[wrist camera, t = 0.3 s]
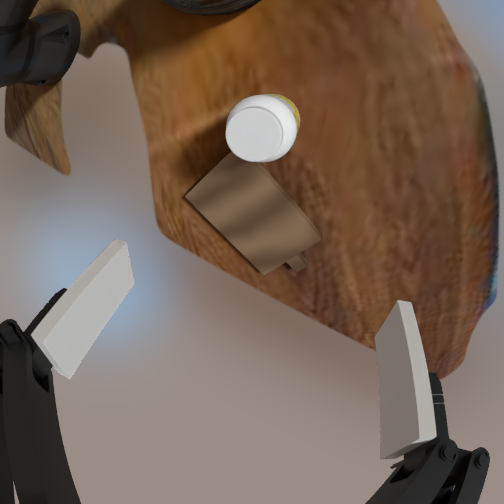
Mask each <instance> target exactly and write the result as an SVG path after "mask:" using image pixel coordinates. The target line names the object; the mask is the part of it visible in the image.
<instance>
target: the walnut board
mask: <svg viewBox="0 0 504 504" xmlns="http://www.w3.org/2000/svg"><path fill="white" fill-rule="evenodd" d="M185 197H186V198H187V199H188V200H189V201H190V202H191V203H192V204H193V205H194V206H195V207H196V208H197V209H198V210H199V211H200V212H201V213H202V214H203V215H204V216H205V217H206V218H207V219H208V220H209V221H210V222H211V223H212V224H213V225H214V226H215V227H216V228H217V229H218V230H219V231H220V232H221V233H222V234H223V235H224V236H225V237H226V238H227V239H228V240H229V241H230V242H231V243H232V244H233V245H234V246H235V247H236V248H237V249H238V250H239V251H240V252H241V253H242V254H243V255H244V256H245V257H246V258H247V259H248V260H249V261H250V262H251V263H252V264H253V265H254V266H255V267H256V268H257V269H258V270H259V271H260V272H261V273H262V274H263V275H266V274H267V273H269V272H271V271H272V270H274V269H275V268H277V267H279V266H280V265H282V264H284V263H285V262H287V263H288V264H289V265H290V266H291V267H292V268H293V270H294V271H295V272H298V271H300V270H301V269H303V268H305V267H307V260H306V259H305V257H304V256H303V255H302V254H301V252H303V251H305V250H306V249H308V248H310V247H311V246H313V245H314V244H316V243H318V242H319V241H321V240H322V234H321V233H320V232H319V230H318V229H317V228H316V227H315V226H314V224H313V223H312V222H311V221H310V220H309V218H308V217H307V216H306V215H305V214H304V213H303V211H302V210H301V209H300V208H299V207H298V206H297V204H296V203H295V202H294V201H293V200H292V199H291V198H290V196H289V195H288V194H287V193H286V192H285V191H284V190H283V189H282V187H281V186H280V185H279V184H278V183H277V182H276V181H275V180H274V179H273V178H272V176H271V175H270V174H269V173H268V172H267V171H266V170H265V169H264V168H263V167H262V166H261V164H260V163H259V162H251V161H246V160H244V159H241V158H240V157H238V156H236V155H235V154H234V153H233V152H232V151H231V152H230V153H229V154H228V155H227V156H225V157H224V158H223V159H222V160H221V161H220V162H219V163H218V164H217V165H216V166H215V167H214V168H213V169H212V170H211V171H210V172H209V173H208V174H207V175H206V176H205V177H204V178H203V179H202V180H201V181H200V182H199V183H198V184H197V185H196V186H195V187H194V188H193V189H192V190H191V191H190V192H189V193H188V194H187V195H186V196H185Z"/></svg>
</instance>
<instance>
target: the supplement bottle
mask: <svg viewBox="0 0 504 504" xmlns="http://www.w3.org/2000/svg"><path fill="white" fill-rule="evenodd" d="M299 126H300V115H299V112H298V109H297V107H296V106H295V105H294V103H293V102H292V101H291V100H289V99H288V98H286V97H284V96H282V95H278V94H264V95H255V96H251V97H248V98H245V99H243V100H242V101H240V102H239V103H237V104H236V105H235V106H234V108H233V109H232V110H231V112H230V114H229V116H228V118H227V123H226V141H227V144H228V146H229V148H230V149H231V151H232V152H233V153H234V154H235V155H236V156H238V157H240V158H241V159H244V160H246V161H251V162H270V161H273V160H276V159H278V158H280V157H282V156H283V155H284V154H285V153H287V152H288V151H289V149H290V148H291V147H292V145H293V143H294V141H295V138H296V135H297V133H298V130H299Z"/></svg>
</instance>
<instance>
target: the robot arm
mask: <svg viewBox="0 0 504 504" xmlns="http://www.w3.org/2000/svg"><path fill="white" fill-rule="evenodd" d="M38 1H39V0H0V88H1V87H4V86H7V85H10V84H14V83H24V84H30V85H36V86H44V85H48V84H52V83H55V82H57V81H58V80H59V79H61V78H62V77H63V76H64V74H65V73H66V72H67V71H68V69H69V68H70V66H71V64H72V62H73V60H74V58H75V55H76V53H77V50H78V46H79V41H80V22H79V19H78V17H77V15H76V14H75V13H74V12H73V11H71V10H61V9H58V10H53V11H50V12H47V13H44V14H41V15H39V16H36V17H33V18H31V19H29V17H30V15H31V13H32V11H33V9H34V8H35V6H36V4H37V2H38ZM134 284H135V282H134V277H133V273H132V268H131V263H130V258H129V252H128V247H127V243H126V242H123V241H119V240H114V241H113V242H112V243H111V244H110V245H109V246H108V247H107V248H106V249H105V250H104V251H103V252H102V253H101V254H100V255H99V256H98V257H97V258H96V259H95V260H94V261H93V262H92V263H91V264H90V265H89V266H88V267H87V268H86V270H85V271H84V272H83V273H82V274H81V275H80V276H79V277H78V278H77V279H76V281H75V282H74V283H73V284H72V285H71V286H70V287H69V289H65V288H63V289H62V290H60V291H59V292H57V293H56V294H55V295H54V296H53V297H52V298H51V299H50V301H49V303H47V304H46V305H45V307H44V308H43V309H42V310H41V311H40V312H39V314H38V315H37V316H36V317H35V319H34V320H33V321H32V322H31V324H30V325H29V326H28V327H27V329H26V330H25V331H24V332H22V330H21V329H20V327H19V325H18V324H17V322H16V321H15V320H13V319H7V320H5V321H4V322H2V323H1V324H0V504H15V499H14V488H13V481H14V485H15V488H16V492H17V496H18V500H19V504H81V502H80V499H79V497H78V494H77V491H76V488H75V485H74V482H73V479H72V475H71V472H70V469H69V465H68V462H67V458H66V454H65V450H64V446H63V441H62V437H61V432H60V427H59V421H58V416H57V409H56V402H55V394H54V387H53V386H54V385H53V375H52V371H51V368H52V366H54V368H55V369H56V370H57V371H58V372H59V373H60V374H62V375H63V376H65V377H67V378H68V379H71V377H72V376H73V374H74V373H75V371H76V369H77V368H78V366H79V365H80V363H81V361H82V360H83V358H84V357H85V355H86V353H87V352H88V350H89V349H90V347H91V346H92V344H93V342H94V341H95V340H96V338H97V337H98V335H99V334H100V332H101V331H102V329H103V328H104V326H105V325H106V323H107V322H108V320H109V319H110V318H111V316H112V315H113V313H114V312H115V310H116V309H117V308H118V306H119V305H120V303H121V302H122V301H123V299H124V298H125V297H126V295H127V294H128V292H129V291H130V290H131V288H132V287H133V286H134ZM375 344H376V353H377V365H378V377H379V394H380V421H381V422H380V425H381V443H380V459H394V458H398V457H400V456H402V455H404V460H402V461H400V462H398V463H396V464H394V465H393V466H392V467H390V468H392V469H393V468H395V467H397V468H396V469H395V470H394V471H393V473H392V474H391V475H390V476H389V478H388V479H387V480H386V481H385V482H384V484H383V485H382V486H381V487H380V488H379V490H377V492H376V493H375V494H374V495H373V496H372V497H371V498H370V499H369V500H368V501H367V502H366V503H365V504H477V503H478V501H479V498H480V494H481V492H482V489H483V485H484V482H485V478H486V475H487V471H488V467H489V462H490V457H489V453H488V451H487V450H486V449H485V448H482V447H480V448H477V449H475V450H474V451H472V452H471V451H467V450H463V449H459V448H458V447H457V445H456V443H455V442H454V441H453V440H451V439H449V435H448V427H447V419H446V411H445V405H444V398H443V396H442V394H443V392H442V387H441V382H440V380H439V378H438V377H437V375H436V373H430V372H428V370H427V365H426V360H425V355H424V351H423V346H422V342H421V338H420V334H419V330H418V326H417V322H416V318H415V315H414V311H413V307H412V304H411V302H405V301H400V300H397V302H396V304H395V306H394V307H393V309H392V311H391V312H390V314H389V316H388V317H387V319H386V320H385V322H384V324H383V325H382V327H381V328H380V330H379V331H378V333H377V334H376V336H375ZM454 486H455V487H454ZM453 488H454V490H453Z"/></svg>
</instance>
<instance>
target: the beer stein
mask: <svg viewBox="0 0 504 504" xmlns="http://www.w3.org/2000/svg"><path fill="white" fill-rule="evenodd" d="M162 1H163V2H165V3H166V4H167V5H169V6H170V7H172V8H174V9H176V10H178V11H181V12H184V13H189V14H196V15H219V14H232V13H234V12H237V11H240V10H243V9H246V8H249V7H252V6H253V5H255V4H256V3H258V2H259V1H261V0H162Z"/></svg>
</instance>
